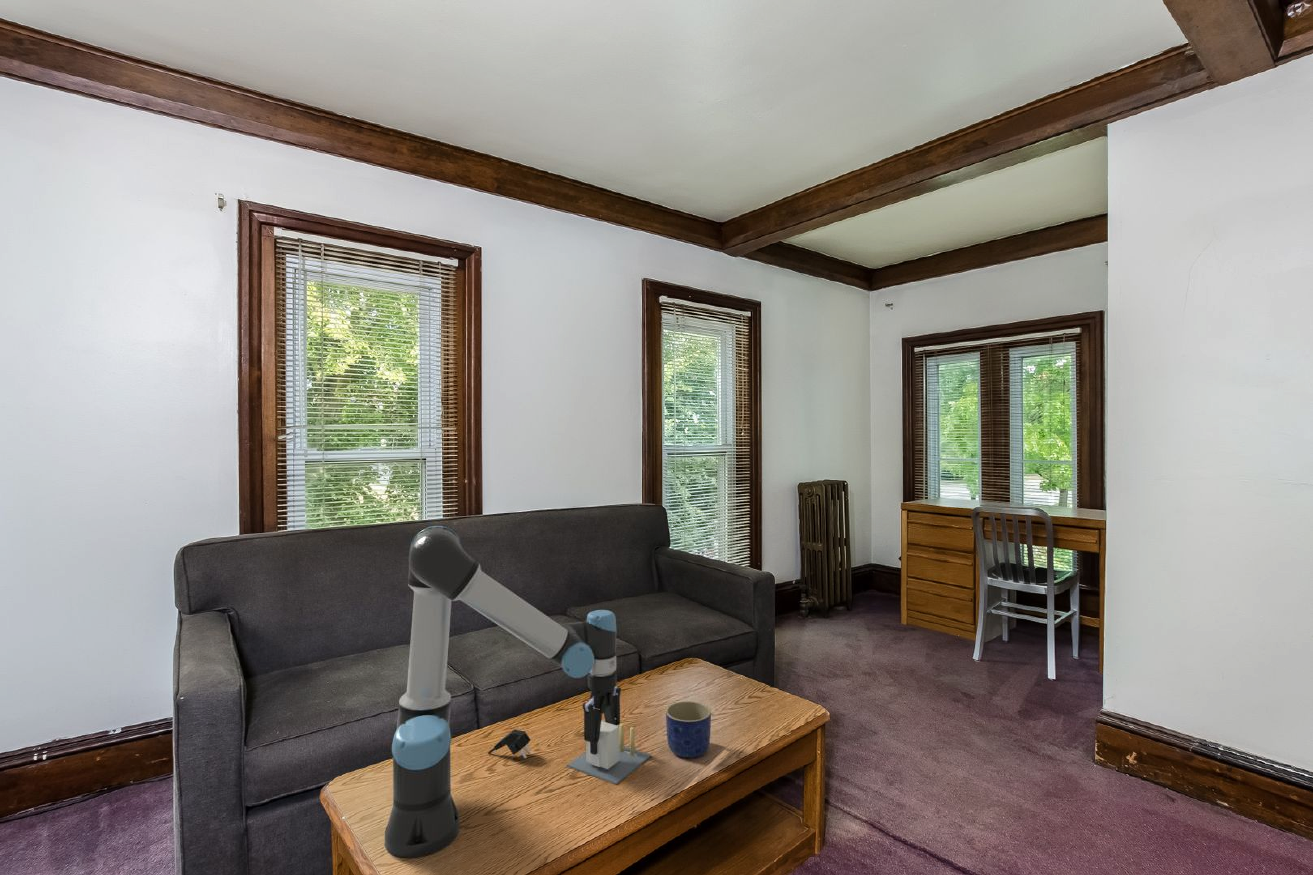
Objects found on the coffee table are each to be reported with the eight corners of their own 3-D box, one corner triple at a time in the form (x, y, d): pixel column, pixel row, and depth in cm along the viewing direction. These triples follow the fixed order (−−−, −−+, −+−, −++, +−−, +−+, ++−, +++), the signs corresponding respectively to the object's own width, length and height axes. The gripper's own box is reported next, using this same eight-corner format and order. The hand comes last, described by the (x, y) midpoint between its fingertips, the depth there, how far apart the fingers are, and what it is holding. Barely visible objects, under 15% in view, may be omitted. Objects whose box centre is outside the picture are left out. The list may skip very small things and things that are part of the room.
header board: (616, 784, 152) (615, 754, 152) (567, 766, 160) (566, 738, 160) (651, 755, 165) (651, 728, 165) (604, 740, 174) (604, 714, 174)
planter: (720, 749, 168) (720, 709, 168) (691, 767, 159) (691, 725, 159) (686, 734, 177) (685, 697, 177) (656, 751, 168) (656, 711, 168)
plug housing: (607, 769, 156) (607, 734, 156) (586, 761, 160) (586, 727, 160) (619, 760, 160) (619, 726, 160) (598, 753, 164) (598, 719, 164)
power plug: (491, 745, 170) (523, 721, 168) (507, 768, 169) (539, 744, 167) (482, 755, 164) (514, 731, 162) (498, 779, 163) (531, 755, 161)
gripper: (591, 686, 151) (592, 780, 151) (633, 663, 166) (634, 748, 166) (568, 679, 155) (569, 771, 155) (611, 657, 170) (612, 741, 170)
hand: (602, 759), depth 160 cm, fingers closed on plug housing, 5 cm apart
